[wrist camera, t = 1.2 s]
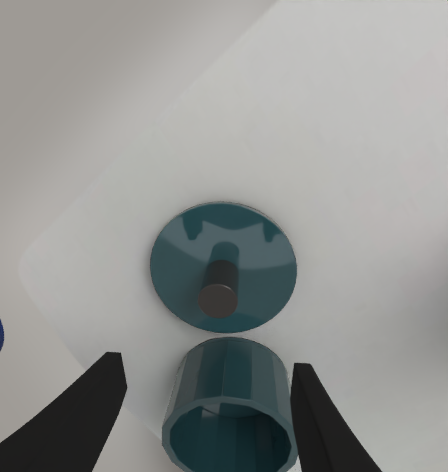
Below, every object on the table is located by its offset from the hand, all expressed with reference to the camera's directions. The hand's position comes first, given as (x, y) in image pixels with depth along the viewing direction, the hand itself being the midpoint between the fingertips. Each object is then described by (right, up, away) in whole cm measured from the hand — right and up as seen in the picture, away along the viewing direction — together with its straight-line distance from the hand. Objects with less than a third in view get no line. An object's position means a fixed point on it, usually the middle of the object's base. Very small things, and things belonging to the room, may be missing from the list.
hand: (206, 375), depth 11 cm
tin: (+1, -7, +13) cm, 15 cm away
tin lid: (+1, +3, +8) cm, 9 cm away
